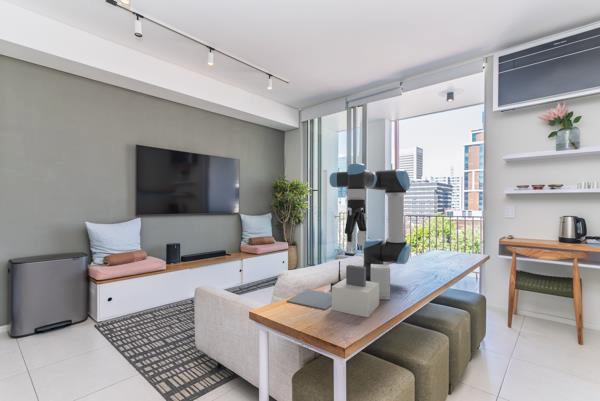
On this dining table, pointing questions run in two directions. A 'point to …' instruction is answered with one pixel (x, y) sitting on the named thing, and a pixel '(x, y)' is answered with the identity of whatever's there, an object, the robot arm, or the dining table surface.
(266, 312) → the dining table surface
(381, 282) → the supplement box
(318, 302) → the pad
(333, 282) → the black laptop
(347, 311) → the cover
